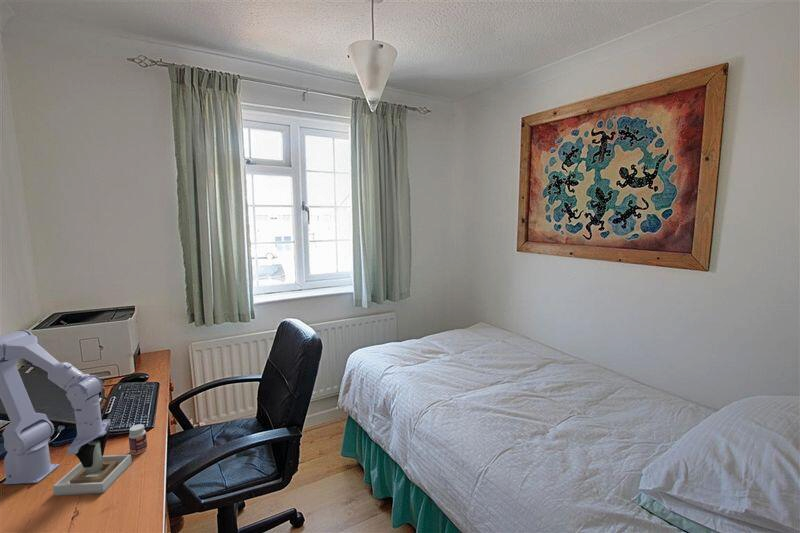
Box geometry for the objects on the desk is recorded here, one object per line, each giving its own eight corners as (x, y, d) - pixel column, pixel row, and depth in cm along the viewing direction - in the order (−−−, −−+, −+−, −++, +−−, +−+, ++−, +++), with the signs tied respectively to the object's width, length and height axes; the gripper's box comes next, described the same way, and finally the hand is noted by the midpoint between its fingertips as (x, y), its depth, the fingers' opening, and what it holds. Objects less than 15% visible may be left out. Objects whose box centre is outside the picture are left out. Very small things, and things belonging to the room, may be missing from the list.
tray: (54, 495, 106) (52, 486, 105) (87, 465, 119) (86, 456, 118) (103, 493, 107) (102, 483, 106) (131, 463, 120) (130, 454, 119)
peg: (81, 473, 110) (78, 448, 109) (92, 464, 114) (90, 440, 113) (95, 473, 110) (92, 448, 109) (106, 464, 114) (103, 440, 113)
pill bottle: (138, 456, 123) (136, 432, 122) (126, 454, 124) (124, 430, 123) (151, 447, 128) (148, 424, 127) (139, 445, 129) (136, 422, 128)
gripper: (85, 432, 103) (90, 477, 105) (119, 405, 118) (123, 445, 119) (57, 433, 103) (63, 479, 105) (95, 406, 117) (99, 447, 119)
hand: (93, 461), depth 112 cm, fingers closed on peg, 4 cm apart
